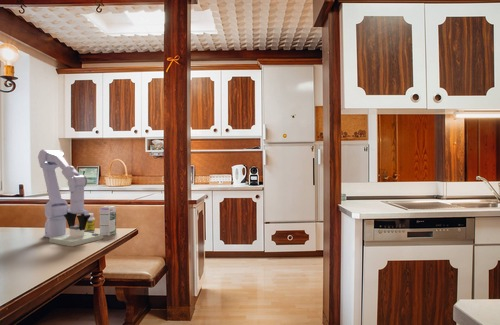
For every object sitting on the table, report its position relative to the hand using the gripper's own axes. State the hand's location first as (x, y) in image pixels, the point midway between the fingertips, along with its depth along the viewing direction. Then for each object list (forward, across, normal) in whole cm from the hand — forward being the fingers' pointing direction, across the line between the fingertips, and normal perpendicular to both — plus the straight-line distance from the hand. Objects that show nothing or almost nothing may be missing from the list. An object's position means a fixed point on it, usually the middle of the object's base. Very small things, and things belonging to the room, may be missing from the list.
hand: (76, 229), depth 150 cm
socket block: (+5, 0, 0) cm, 5 cm away
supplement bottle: (+6, -11, +15) cm, 19 cm away
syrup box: (+6, +2, +16) cm, 17 cm away
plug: (+5, 0, 0) cm, 5 cm away
